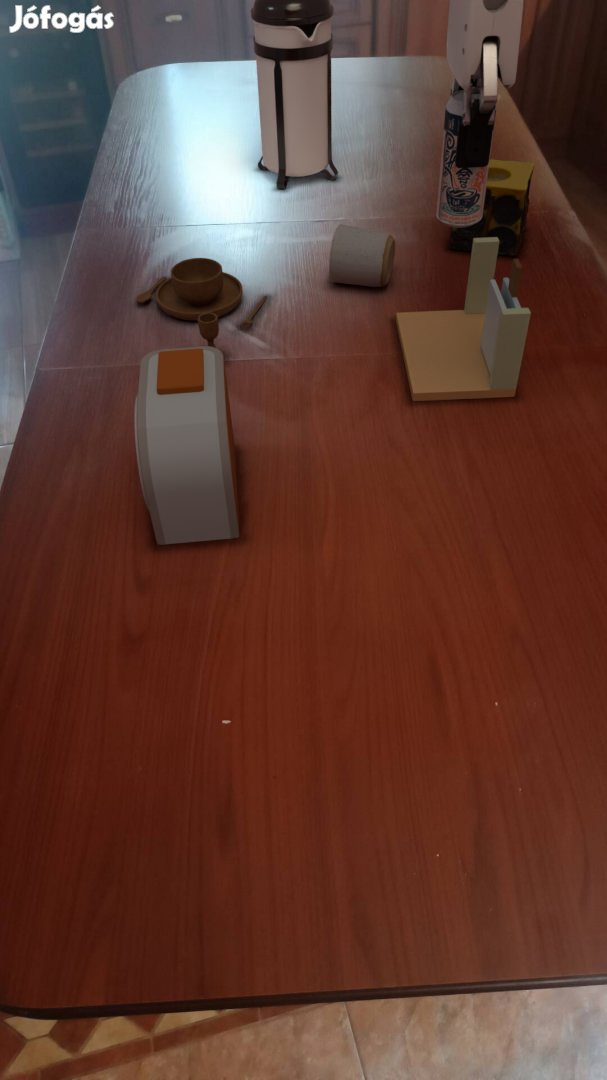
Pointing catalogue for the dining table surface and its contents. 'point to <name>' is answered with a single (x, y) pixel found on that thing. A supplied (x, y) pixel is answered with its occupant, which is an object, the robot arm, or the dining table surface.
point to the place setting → (199, 295)
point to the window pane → (512, 286)
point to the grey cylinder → (361, 256)
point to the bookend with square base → (466, 339)
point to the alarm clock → (186, 445)
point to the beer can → (459, 174)
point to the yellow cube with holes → (500, 208)
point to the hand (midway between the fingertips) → (466, 153)
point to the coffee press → (294, 86)
